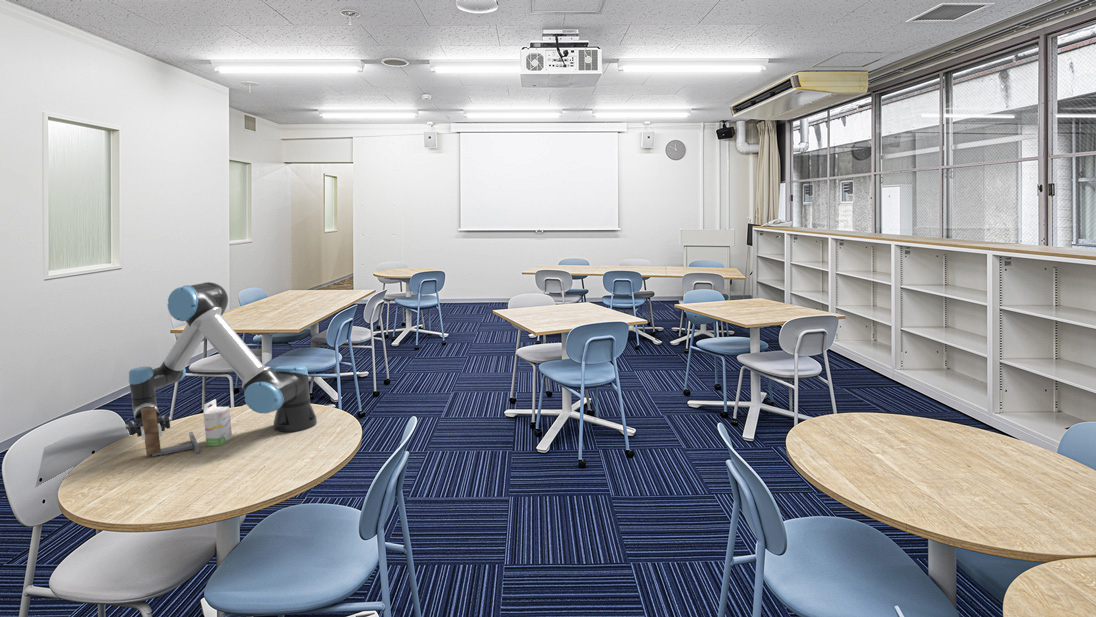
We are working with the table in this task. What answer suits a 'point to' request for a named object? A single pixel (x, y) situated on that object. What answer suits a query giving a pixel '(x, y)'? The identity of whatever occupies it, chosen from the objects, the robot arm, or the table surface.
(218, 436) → the ink box
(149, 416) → the wooden post on rail
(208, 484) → the table surface
